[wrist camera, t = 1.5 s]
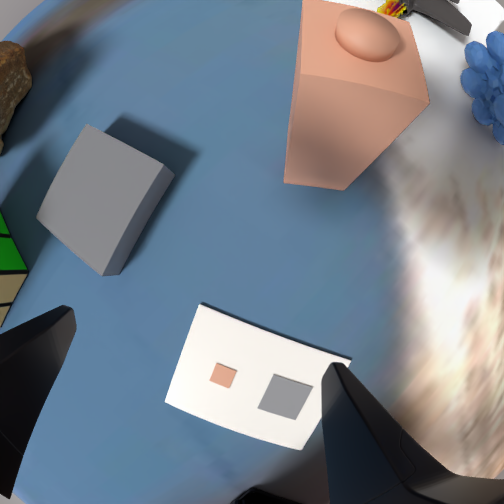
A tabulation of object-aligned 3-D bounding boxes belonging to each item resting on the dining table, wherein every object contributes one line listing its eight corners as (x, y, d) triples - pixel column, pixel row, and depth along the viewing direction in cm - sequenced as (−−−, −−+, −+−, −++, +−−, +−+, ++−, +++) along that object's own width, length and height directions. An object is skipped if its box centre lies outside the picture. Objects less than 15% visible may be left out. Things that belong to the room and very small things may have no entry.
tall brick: (343, 190, 20) (440, 92, 6) (283, 182, 20) (302, 58, 7) (345, 136, 20) (415, 10, 7) (288, 128, 21) (304, -16, 7)
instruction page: (350, 360, 20) (351, 361, 19) (301, 449, 20) (301, 451, 19) (200, 303, 20) (199, 304, 20) (165, 400, 20) (164, 402, 20)
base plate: (177, 176, 21) (164, 164, 18) (121, 274, 21) (101, 276, 18) (103, 136, 22) (86, 123, 19) (56, 221, 22) (35, 217, 19)
